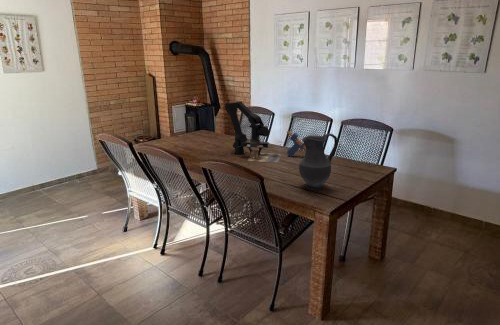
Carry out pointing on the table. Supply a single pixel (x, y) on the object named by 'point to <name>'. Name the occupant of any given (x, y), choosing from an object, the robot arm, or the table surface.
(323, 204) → the table surface
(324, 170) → the pitcher
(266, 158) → the board
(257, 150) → the brown block with peg
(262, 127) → the robot arm
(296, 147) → the glue gun
